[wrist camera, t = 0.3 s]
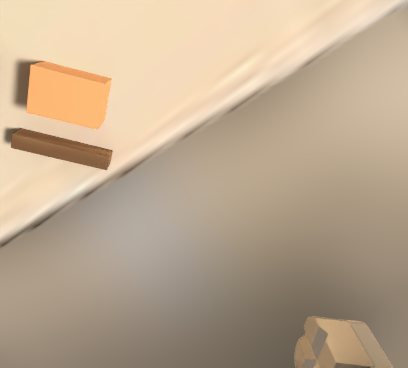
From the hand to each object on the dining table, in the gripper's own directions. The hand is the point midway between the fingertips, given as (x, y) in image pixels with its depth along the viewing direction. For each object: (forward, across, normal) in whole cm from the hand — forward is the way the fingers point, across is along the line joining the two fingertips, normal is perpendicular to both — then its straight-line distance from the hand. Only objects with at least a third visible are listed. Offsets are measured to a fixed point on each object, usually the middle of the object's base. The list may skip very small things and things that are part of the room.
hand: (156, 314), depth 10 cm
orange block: (+46, +13, +5) cm, 48 cm away
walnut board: (+46, +14, +13) cm, 50 cm away
